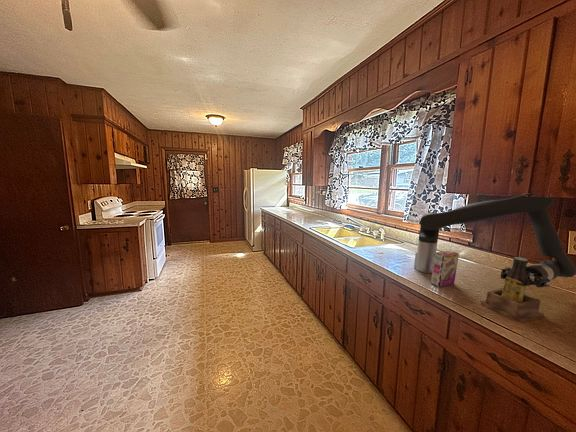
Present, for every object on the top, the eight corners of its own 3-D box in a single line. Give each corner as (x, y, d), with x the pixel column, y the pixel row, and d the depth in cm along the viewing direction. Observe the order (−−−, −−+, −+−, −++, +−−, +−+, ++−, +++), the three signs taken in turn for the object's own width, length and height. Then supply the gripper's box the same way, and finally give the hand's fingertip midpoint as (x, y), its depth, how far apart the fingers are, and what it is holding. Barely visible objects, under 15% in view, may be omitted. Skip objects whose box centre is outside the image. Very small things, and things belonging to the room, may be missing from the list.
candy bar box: (439, 287, 115) (443, 255, 112) (430, 283, 120) (433, 252, 117) (455, 284, 119) (459, 252, 116) (445, 280, 124) (449, 249, 121)
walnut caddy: (480, 303, 101) (482, 290, 100) (500, 298, 106) (503, 285, 105) (522, 322, 88) (525, 307, 87) (543, 315, 93) (546, 301, 92)
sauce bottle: (497, 302, 98) (504, 256, 95) (505, 299, 101) (513, 254, 97) (517, 310, 93) (526, 262, 89) (525, 307, 95) (534, 259, 92)
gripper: (516, 259, 106) (493, 264, 100) (562, 271, 92) (538, 278, 86) (513, 275, 107) (490, 281, 101) (558, 289, 94) (534, 297, 88)
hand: (512, 279), depth 94 cm, fingers open, 6 cm apart
